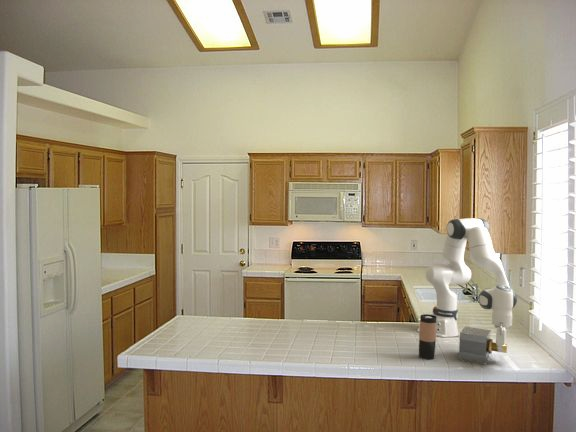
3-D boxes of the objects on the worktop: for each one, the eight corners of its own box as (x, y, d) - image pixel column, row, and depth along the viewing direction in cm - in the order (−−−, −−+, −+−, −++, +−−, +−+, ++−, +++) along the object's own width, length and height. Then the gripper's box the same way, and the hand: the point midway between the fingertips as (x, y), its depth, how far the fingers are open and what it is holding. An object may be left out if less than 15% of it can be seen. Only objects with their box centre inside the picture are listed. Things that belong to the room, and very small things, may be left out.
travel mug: (432, 354, 259) (434, 314, 258) (436, 360, 251) (439, 318, 250) (416, 354, 258) (418, 314, 257) (420, 359, 251) (422, 317, 250)
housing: (458, 359, 253) (460, 332, 252) (463, 352, 265) (465, 326, 264) (485, 364, 247) (486, 336, 246) (489, 356, 259) (490, 330, 259)
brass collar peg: (471, 352, 253) (471, 337, 253) (473, 348, 259) (474, 334, 259) (505, 358, 246) (506, 343, 246) (507, 354, 252) (507, 339, 252)
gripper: (508, 326, 239) (506, 356, 240) (509, 316, 257) (508, 345, 258) (493, 324, 241) (491, 354, 242) (495, 315, 260) (494, 343, 261)
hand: (500, 349), depth 250 cm, fingers open, 5 cm apart
